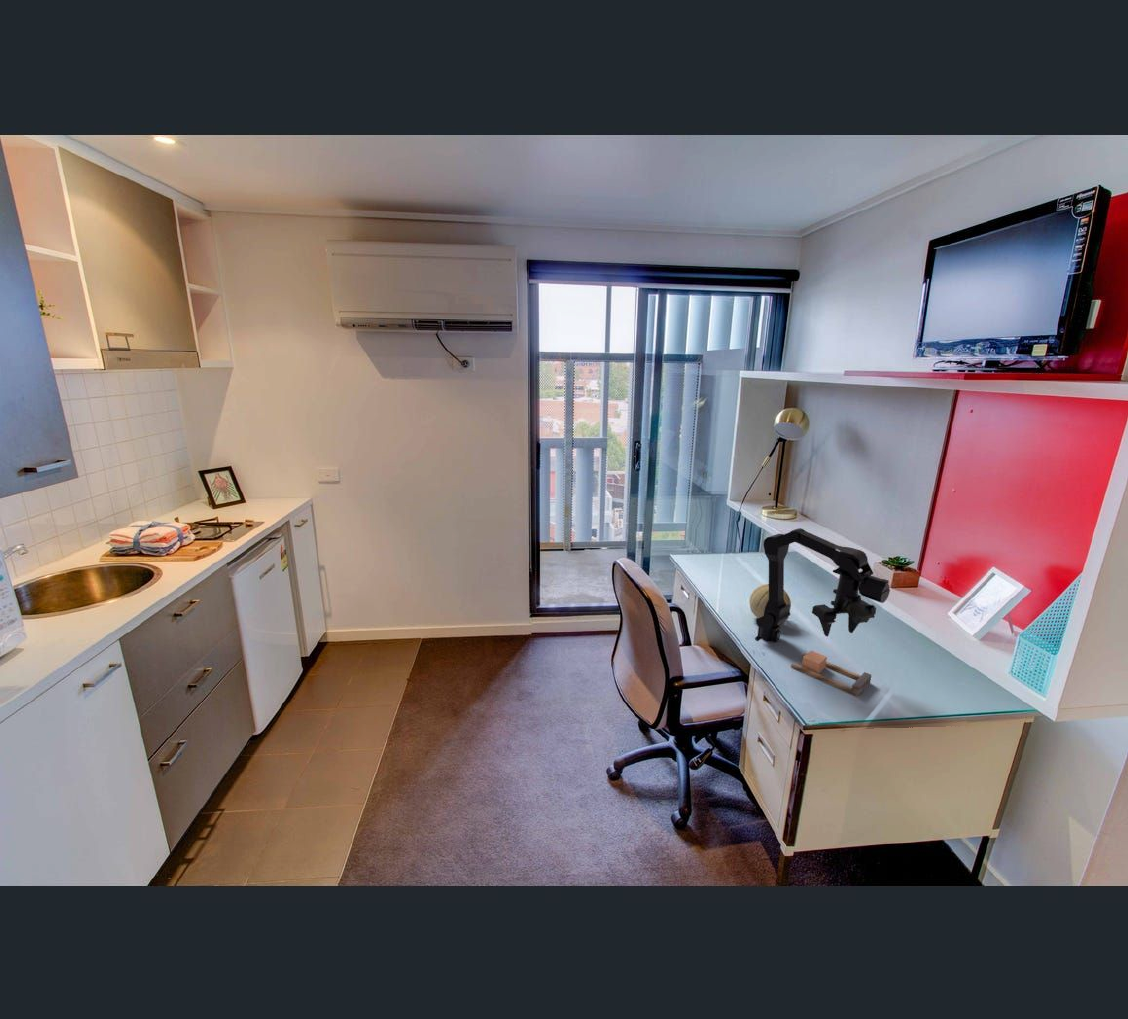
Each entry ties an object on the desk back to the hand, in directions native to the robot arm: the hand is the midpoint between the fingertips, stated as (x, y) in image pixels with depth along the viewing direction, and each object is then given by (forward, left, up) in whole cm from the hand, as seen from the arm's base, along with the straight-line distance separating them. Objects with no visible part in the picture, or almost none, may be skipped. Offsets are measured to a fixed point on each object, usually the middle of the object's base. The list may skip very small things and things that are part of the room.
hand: (838, 634), depth 156 cm
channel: (+1, -5, -13) cm, 14 cm away
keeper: (-4, -5, -12) cm, 14 cm away
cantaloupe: (-30, +16, -14) cm, 37 cm away
